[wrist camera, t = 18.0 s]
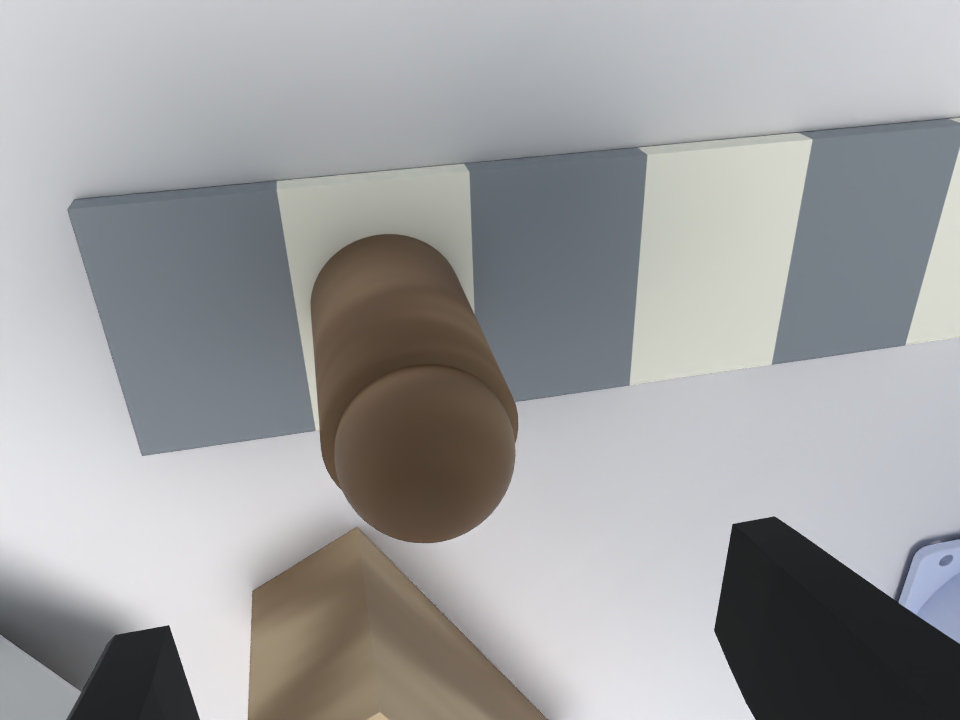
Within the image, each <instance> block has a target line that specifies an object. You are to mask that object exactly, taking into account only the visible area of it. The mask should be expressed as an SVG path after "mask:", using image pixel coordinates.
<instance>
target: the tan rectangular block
mask: <svg viewBox="0 0 960 720" xmlns="http://www.w3.org/2000/svg"><path fill="white" fill-rule="evenodd" d="M248 720H547V719H546V718H545V717H544V715H543V714H542V713H541V712H540V711H539V710H538V709H537V708H536V707H535V706H534V705H533V704H532V703H531V702H530V701H529V700H528V699H527V698H526V697H525V696H524V695H523V694H522V693H521V692H520V691H519V690H518V689H517V688H516V687H515V686H514V685H513V684H512V683H511V682H510V681H509V680H508V679H507V678H506V677H505V676H504V675H503V674H502V673H501V672H500V671H499V670H498V669H497V668H496V667H495V666H494V665H493V664H492V663H491V662H490V661H489V660H488V659H487V658H486V657H485V656H484V655H483V654H482V653H481V652H480V651H479V650H478V649H477V648H476V647H475V646H474V645H473V644H472V643H471V642H470V641H469V640H468V639H467V638H466V637H465V636H464V635H463V634H462V633H461V632H460V630H459V629H458V628H457V627H456V626H455V625H454V624H453V623H452V622H451V621H450V620H449V619H448V618H447V617H446V616H445V615H444V614H443V613H442V612H441V611H440V610H439V609H438V608H437V607H436V606H435V605H434V604H433V603H432V602H431V601H430V600H429V599H428V598H427V597H426V596H425V595H424V594H423V593H422V592H421V591H420V590H419V589H418V588H417V587H416V586H415V585H414V584H413V583H412V582H411V581H410V580H409V579H408V578H407V577H406V576H405V575H404V574H403V573H402V572H401V571H400V570H399V569H398V568H397V567H396V566H395V565H394V564H393V563H392V562H391V561H390V560H389V559H388V558H387V557H386V556H385V555H384V554H383V553H382V552H381V551H380V550H379V549H378V548H377V547H376V545H375V544H374V543H373V542H372V541H371V540H370V539H369V538H368V537H367V536H366V535H365V534H364V533H363V532H362V531H361V530H360V529H359V528H358V527H356V528H354V529H353V530H351V531H349V532H348V533H346V534H345V535H343V536H341V537H340V538H338V539H336V540H335V541H333V542H332V543H330V544H328V545H327V546H325V547H323V548H322V549H320V550H319V551H317V552H315V553H314V554H312V555H310V556H309V557H307V558H306V559H304V560H302V561H301V562H299V563H297V564H296V565H294V566H293V567H291V568H289V569H288V570H286V571H284V572H283V573H281V574H279V575H278V576H276V577H275V578H273V579H271V580H270V581H268V582H266V583H265V584H263V585H262V586H260V587H258V588H257V589H255V590H253V594H252V620H251V647H250V674H249V700H248Z"/></svg>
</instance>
